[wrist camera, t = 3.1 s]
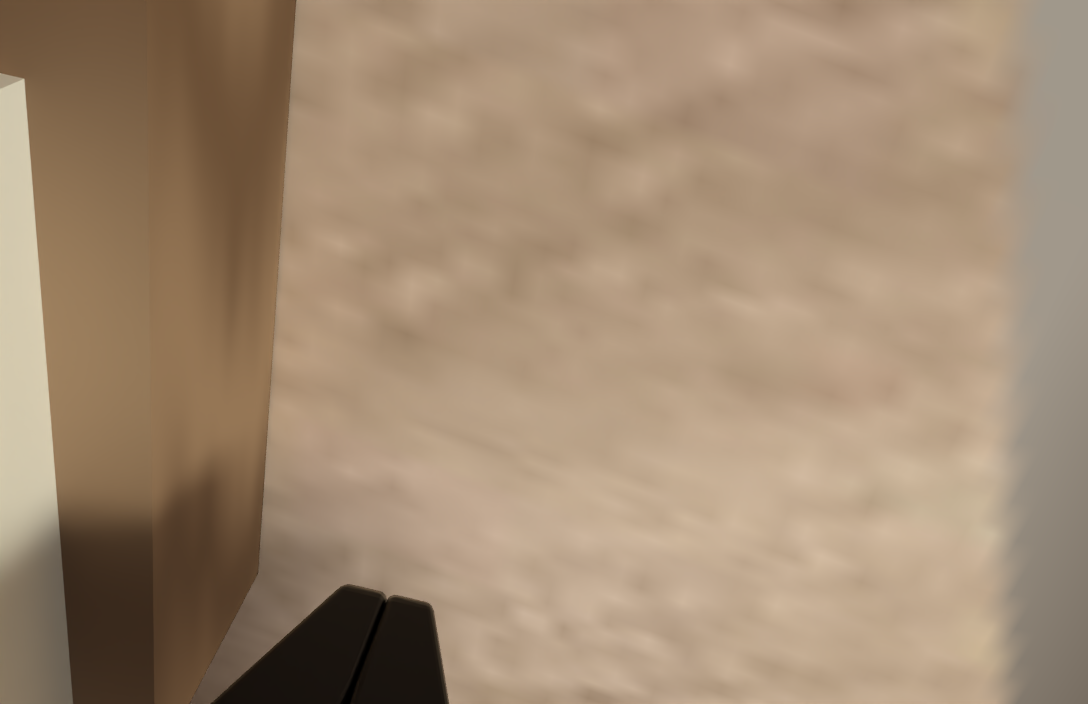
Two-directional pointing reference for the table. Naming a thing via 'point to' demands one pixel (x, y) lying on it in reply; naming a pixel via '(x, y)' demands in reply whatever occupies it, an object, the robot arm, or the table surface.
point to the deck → (155, 314)
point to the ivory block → (26, 442)
